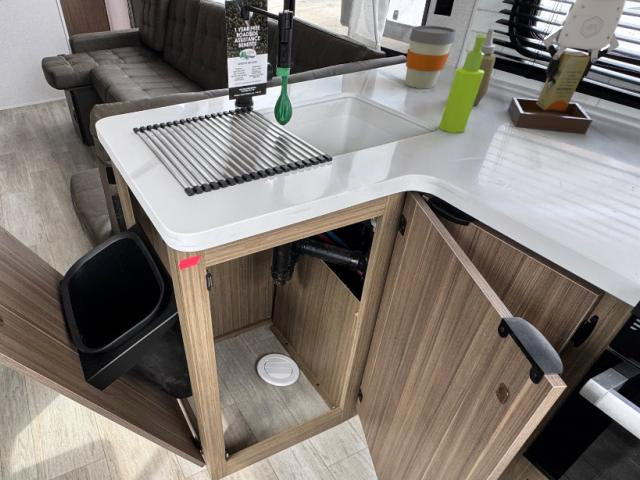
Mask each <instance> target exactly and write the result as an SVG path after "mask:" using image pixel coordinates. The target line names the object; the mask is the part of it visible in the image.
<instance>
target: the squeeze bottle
mask: <svg viewBox="0 0 640 480" xmlns="http://www.w3.org/2000/svg"><path fill="white" fill-rule="evenodd" d="M494 32H495V29H494V28H488V30H487V32H486V33H485V35H486V39H485V41H484V43H483V46H482V49H481V52H482V53H484V56H483V59H482V62H481V65H480V68H479V69H480V70H483V71H484V75H483V78H482V81H481V83H480V86H479V89H478V92H477V95H476V98H475V101H474V104H473V106H477V105H479V103H481V100H482V99H483V98H484V96H485V95H486V93H487V92H488V89H489V86H490V81H491V78H492V74H493V69H494V66H495V62H496V56H495V55H494V53H495V49H496V45H495V44H493V40H494Z"/></svg>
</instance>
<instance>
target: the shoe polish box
mask: <svg viewBox="0 0 640 480" xmlns="http://www.w3.org/2000/svg"><path fill="white" fill-rule="evenodd" d="M590 59H591V56H589V55H588V53H587V54H586V53H584V52H582V51H568V50H567V51H566V50H565V51H564V52H563V53H562V54H561V56H560V57H559V61H560V62H559V64H558V66H557V68H556V71H555V73H554V75H553V77H552V78H548V77H547V78H546V80H545V82H544V85H543V87H542V90H541V91H540V94H539V96H538V98H537V100H538V101H537V103H536V104H537V105H538V106H540V107H541V108H543V109H544V110H558V111H565V110H566V108H567V106H568V104H569V102H570V103H571V100H572V98H573V97H574V94H575V92H576V89H577V88H578V85H579V83H580V82H581V81H580V79H581V77H582V75H583V73H584V71H585V69H586V67H587V65H588V63H589V61H590Z"/></svg>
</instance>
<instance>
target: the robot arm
mask: <svg viewBox="0 0 640 480" xmlns="http://www.w3.org/2000/svg"><path fill="white" fill-rule="evenodd" d="M626 2H627V0H574V1H573V2H572V4H571V5H570V6H569V9H568V10H567V12H566V15H565V17H564V18H563V20H562V22H561V24H560V26H559V27H558V28H557V29H555V30H554V31H553V32H551V33H549V34H548V35H546V37H544V38H543V39H542V43H543V45H544V46H545V48H546V50H547V51H548V53H549V55H550V57H551V58H550V60H549V63H548V65H547V68H546V69H545V74H546V77H547V78H552V77H553V75H554V73H555V71H556V68H557V66H558V64H559V62H560V61H559V57H560V56H561V54H562V53H563V52H564V51H566V50H567V49H568V48H569V49H582V50H583V49H584V50H585V49H586V50H588V51H587V52H588V53H587V55H589V56H591V59H590V61H589V63H588V65H587V67H586V69H585V71H584V73H583V75H582V77H581V79H580V81H579V82H583V80H584V78H586V77H587V76H588V74H589V73H590V71H591V68H592V66H593V65H594V63H596V62H597V61H598V60H599V59H601V58H602V57H604V56H605V55H607V54H608V53H610V52H612V51H614V50H615V49H617V48H619V46H620V43H619V40H618V38H617V35H616V34H615V33H616V30H617V27H618V25H619V22H620V20H621V17H622V14H623V12H624V10H625V6H626ZM554 40H555V42H556V43H557V46H556V47H555V45H554V43H553V41H554Z"/></svg>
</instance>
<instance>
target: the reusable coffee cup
mask: <svg viewBox="0 0 640 480" xmlns="http://www.w3.org/2000/svg"><path fill="white" fill-rule="evenodd" d="M456 32H457V30H456V29H454V28H451V27H446V26H439V25H438V26H437V25H416V26H413V27H412V30H411V33H410V35H409V46H408V47H409V48H408V49H407V53H406V62H405V67H406V73H405V81H404V83H405V85H406V86H407V85H408V87H410V86H411V87H410V88H414V87H416V89H421V88H428V89H431V88H430V87H433V88H435V86H436V84H437V82H438V79H439V76H440V74H441V72H442V70H444V68H445V65H446V63H447V60H448V58H449V56H450V49H451V47H452V44H453V43H454V42H455V37H456Z"/></svg>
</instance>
